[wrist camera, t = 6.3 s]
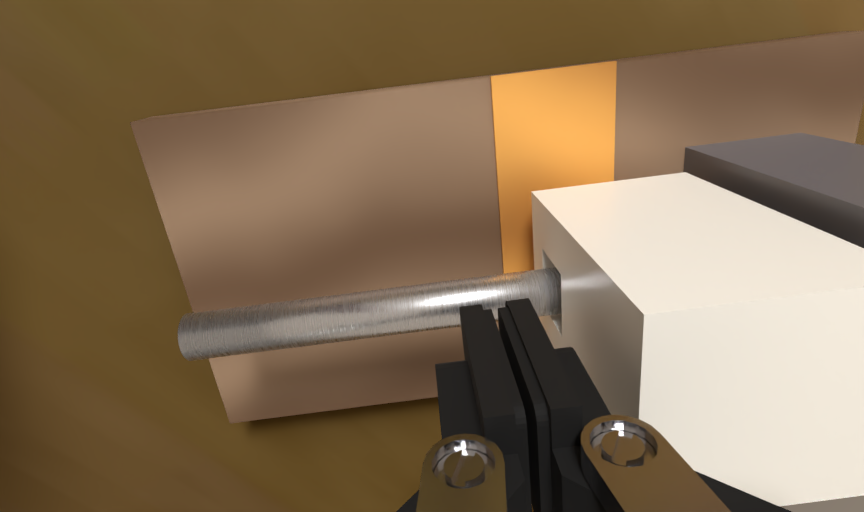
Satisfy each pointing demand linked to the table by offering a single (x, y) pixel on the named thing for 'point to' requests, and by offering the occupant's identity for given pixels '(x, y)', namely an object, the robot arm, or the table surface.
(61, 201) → the table surface
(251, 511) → the table surface
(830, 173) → the connector block
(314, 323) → the metal rod
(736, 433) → the sleeve
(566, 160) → the board
